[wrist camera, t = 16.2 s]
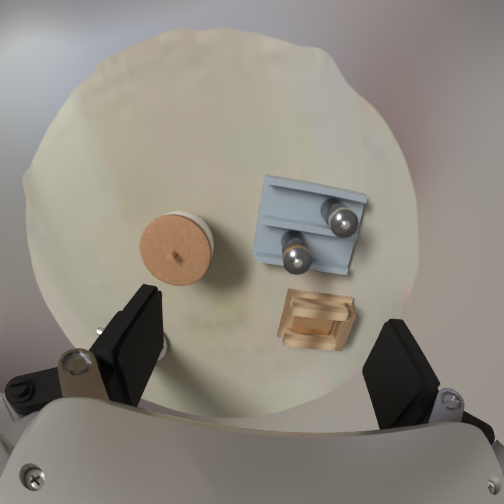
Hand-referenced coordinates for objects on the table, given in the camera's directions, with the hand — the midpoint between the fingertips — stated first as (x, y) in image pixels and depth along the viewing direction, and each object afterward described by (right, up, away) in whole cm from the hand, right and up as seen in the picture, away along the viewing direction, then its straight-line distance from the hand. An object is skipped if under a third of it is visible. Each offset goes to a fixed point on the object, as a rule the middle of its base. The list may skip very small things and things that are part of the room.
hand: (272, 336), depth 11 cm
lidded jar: (-11, +6, +34) cm, 37 cm away
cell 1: (+6, +5, +33) cm, 33 cm away
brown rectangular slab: (+10, -9, +37) cm, 40 cm away
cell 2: (+12, +10, +30) cm, 34 cm away
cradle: (+11, -9, +39) cm, 41 cm away
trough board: (+8, +8, +32) cm, 34 cm away
